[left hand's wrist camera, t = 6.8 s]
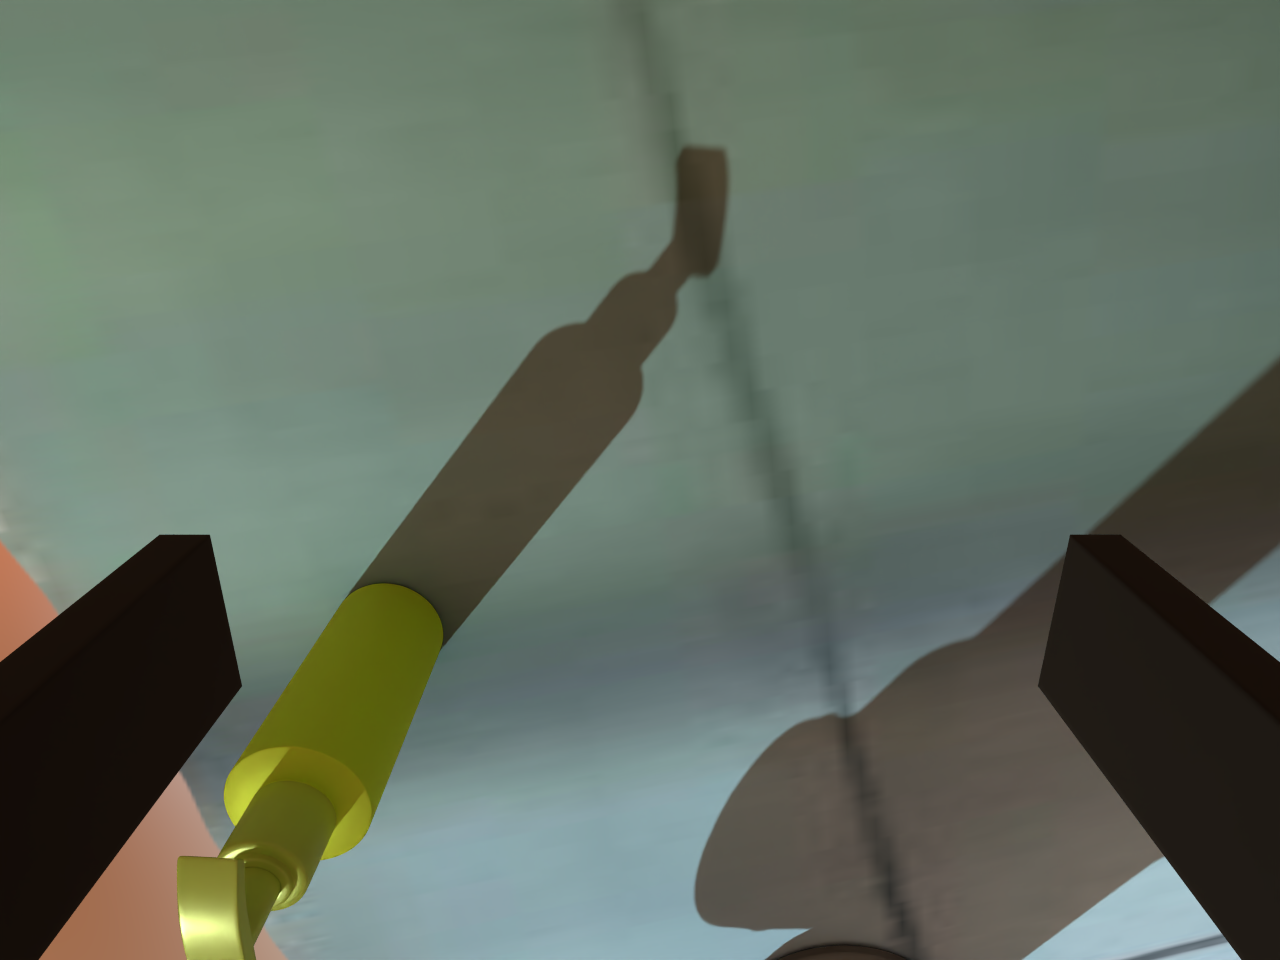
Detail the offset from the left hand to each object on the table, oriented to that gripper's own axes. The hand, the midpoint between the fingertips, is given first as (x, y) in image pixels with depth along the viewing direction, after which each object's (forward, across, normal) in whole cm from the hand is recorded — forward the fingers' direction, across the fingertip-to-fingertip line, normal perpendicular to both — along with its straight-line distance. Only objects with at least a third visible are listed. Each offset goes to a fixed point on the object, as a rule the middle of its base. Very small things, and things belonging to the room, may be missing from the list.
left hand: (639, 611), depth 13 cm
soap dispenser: (+28, +14, +17) cm, 36 cm away
